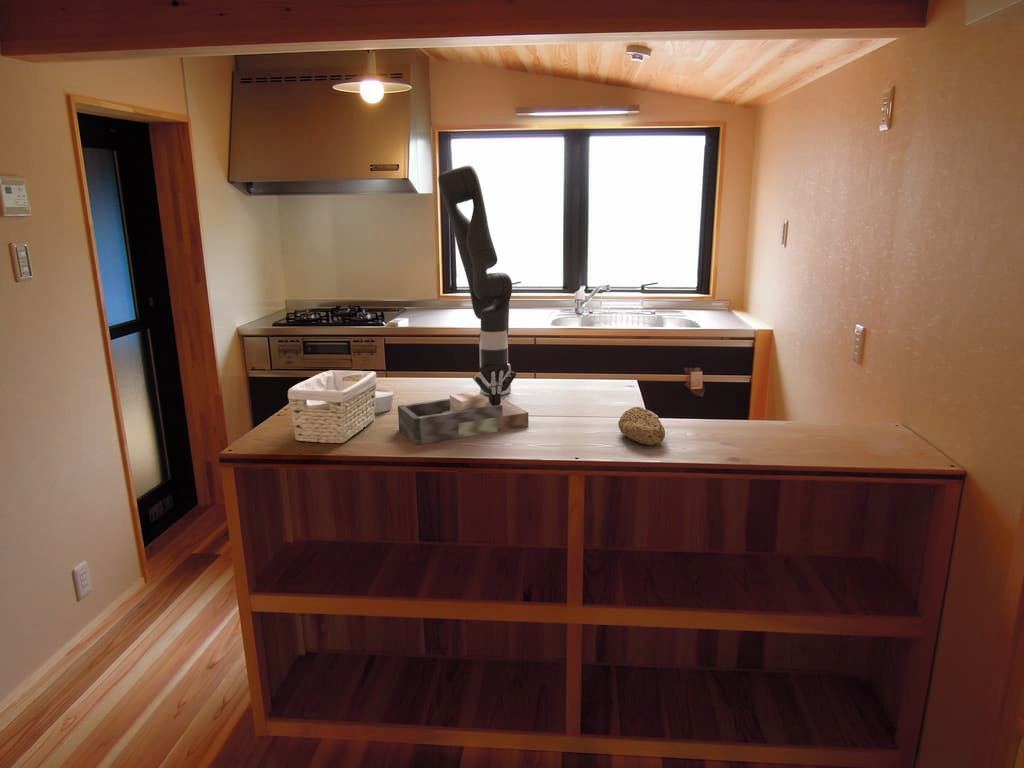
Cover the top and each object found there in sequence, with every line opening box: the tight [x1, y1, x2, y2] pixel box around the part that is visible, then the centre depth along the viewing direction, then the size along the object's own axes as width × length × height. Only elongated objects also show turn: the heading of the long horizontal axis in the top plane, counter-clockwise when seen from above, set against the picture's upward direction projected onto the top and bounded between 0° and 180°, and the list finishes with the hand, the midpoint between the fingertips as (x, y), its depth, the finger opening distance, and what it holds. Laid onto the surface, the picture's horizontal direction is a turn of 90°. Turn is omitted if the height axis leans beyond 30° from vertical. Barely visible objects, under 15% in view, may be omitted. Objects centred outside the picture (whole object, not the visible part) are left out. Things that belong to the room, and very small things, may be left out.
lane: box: [397, 398, 529, 446], centre depth 190 cm, size 33×14×7 cm, turn 117°
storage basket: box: [287, 369, 378, 444], centre depth 189 cm, size 24×16×15 cm
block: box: [449, 390, 489, 412], centre depth 190 cm, size 8×8×5 cm
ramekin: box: [374, 388, 395, 414], centre depth 209 cm, size 11×11×5 cm
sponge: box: [618, 406, 666, 446], centre depth 181 cm, size 13×8×20 cm
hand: (495, 406), depth 194 cm, fingers closed
